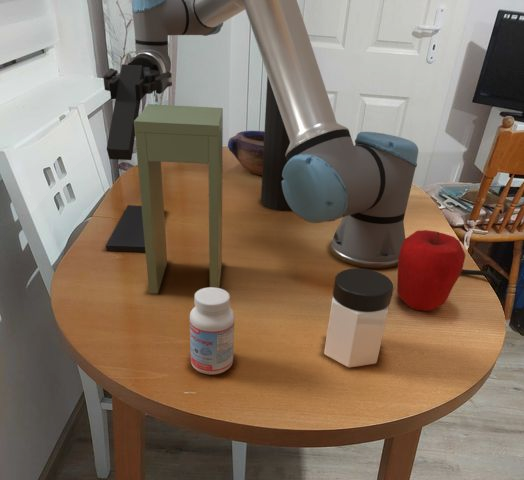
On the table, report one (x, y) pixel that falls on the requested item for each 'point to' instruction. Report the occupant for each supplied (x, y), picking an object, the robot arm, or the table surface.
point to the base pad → (128, 232)
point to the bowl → (248, 150)
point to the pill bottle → (211, 331)
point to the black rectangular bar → (124, 114)
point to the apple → (428, 269)
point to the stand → (182, 151)
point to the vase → (274, 155)
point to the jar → (358, 316)
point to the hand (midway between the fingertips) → (124, 91)
